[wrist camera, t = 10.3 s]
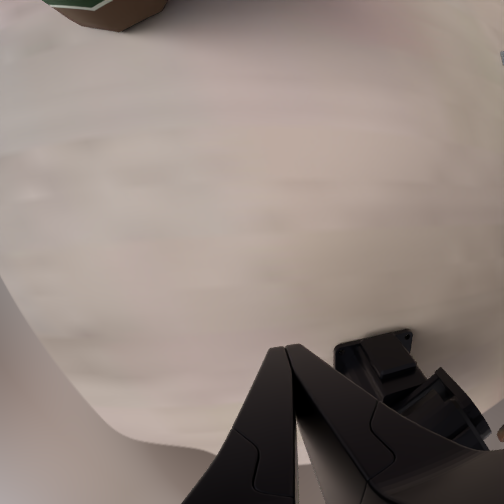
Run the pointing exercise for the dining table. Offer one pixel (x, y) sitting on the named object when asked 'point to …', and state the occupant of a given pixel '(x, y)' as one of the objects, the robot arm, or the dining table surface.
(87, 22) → the beer bottle
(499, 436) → the dish
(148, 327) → the dining table surface
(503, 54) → the box
